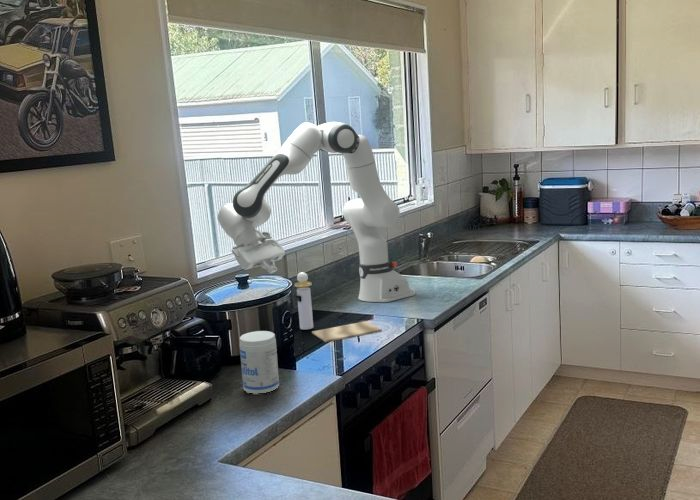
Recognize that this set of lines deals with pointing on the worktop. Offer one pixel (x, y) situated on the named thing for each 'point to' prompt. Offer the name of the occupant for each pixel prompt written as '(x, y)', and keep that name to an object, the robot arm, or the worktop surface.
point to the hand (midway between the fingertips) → (274, 271)
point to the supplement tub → (259, 362)
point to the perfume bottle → (304, 301)
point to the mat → (346, 331)
